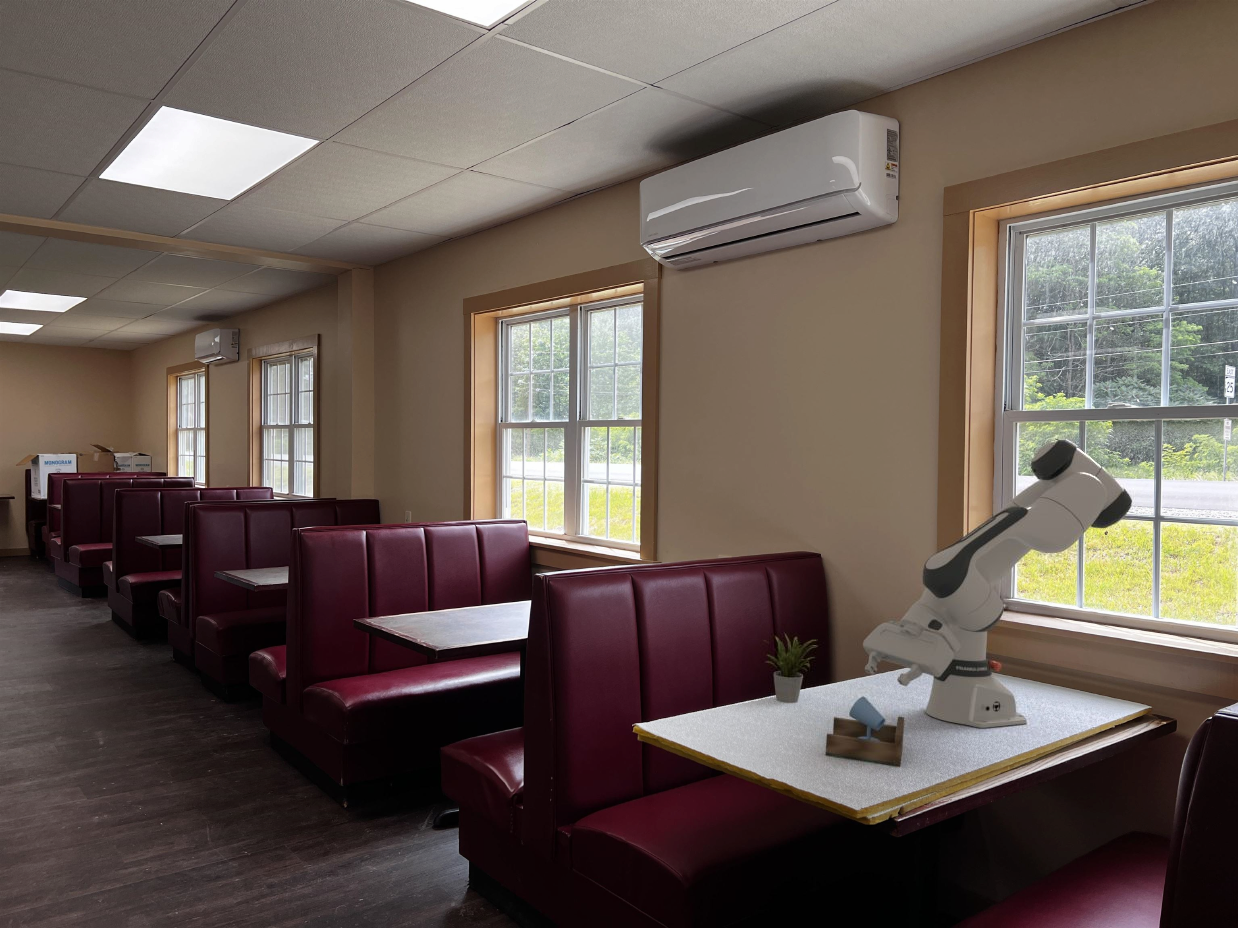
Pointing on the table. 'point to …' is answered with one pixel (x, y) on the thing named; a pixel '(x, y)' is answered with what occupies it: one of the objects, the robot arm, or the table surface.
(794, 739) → the table surface
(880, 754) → the wooden display tray
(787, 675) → the house plant
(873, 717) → the spotlight
